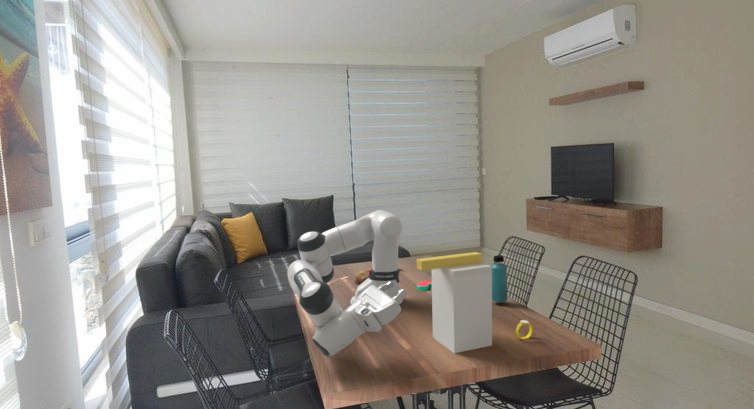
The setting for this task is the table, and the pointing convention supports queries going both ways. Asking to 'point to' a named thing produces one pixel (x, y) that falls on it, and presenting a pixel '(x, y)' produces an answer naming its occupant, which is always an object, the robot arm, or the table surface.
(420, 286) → the pink curvy flat shape
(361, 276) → the bread roll
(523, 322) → the gold ring
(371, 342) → the table surface
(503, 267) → the beverage bottle
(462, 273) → the off-white stand
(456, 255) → the mustard bar
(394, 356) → the table surface
